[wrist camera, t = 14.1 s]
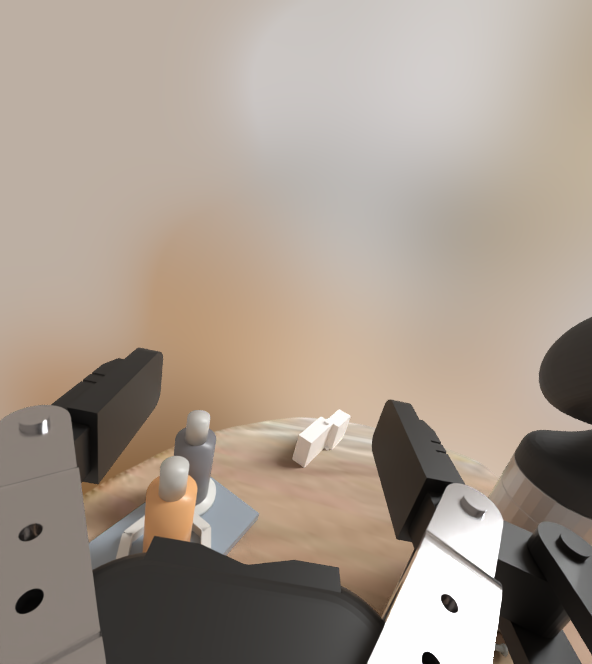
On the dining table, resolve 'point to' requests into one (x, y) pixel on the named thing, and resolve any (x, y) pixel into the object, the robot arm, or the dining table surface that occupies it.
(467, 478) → the dining table surface
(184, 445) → the bottle holder tray
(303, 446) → the white stepped block
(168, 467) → the orange lotion bottle
